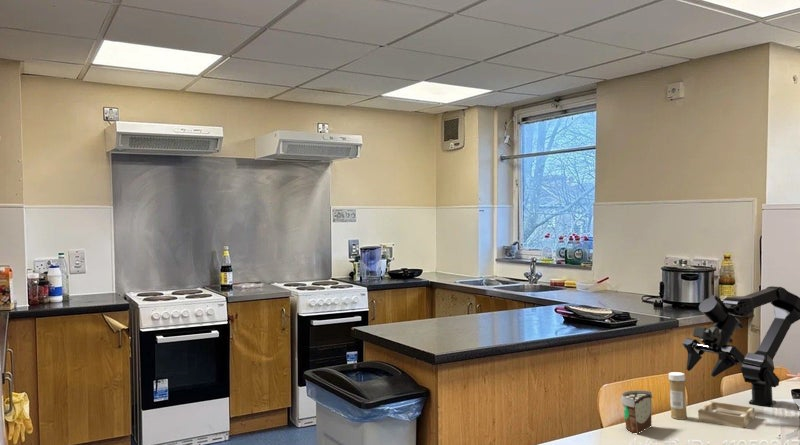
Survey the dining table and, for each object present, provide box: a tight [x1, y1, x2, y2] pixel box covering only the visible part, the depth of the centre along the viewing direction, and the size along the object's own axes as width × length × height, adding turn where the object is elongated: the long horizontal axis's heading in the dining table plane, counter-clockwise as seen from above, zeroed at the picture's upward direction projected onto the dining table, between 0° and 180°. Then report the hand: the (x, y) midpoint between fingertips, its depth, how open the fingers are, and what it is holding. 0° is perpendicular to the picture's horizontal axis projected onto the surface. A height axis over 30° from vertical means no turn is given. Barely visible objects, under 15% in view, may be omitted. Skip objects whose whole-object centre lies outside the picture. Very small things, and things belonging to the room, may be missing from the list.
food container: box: [620, 390, 653, 435], centre depth 176 cm, size 12×6×10 cm, turn 135°
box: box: [697, 401, 755, 429], centre depth 181 cm, size 12×12×3 cm
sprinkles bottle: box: [668, 371, 688, 420], centre depth 185 cm, size 5×5×14 cm
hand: (699, 373), depth 187 cm, fingers open, 9 cm apart
